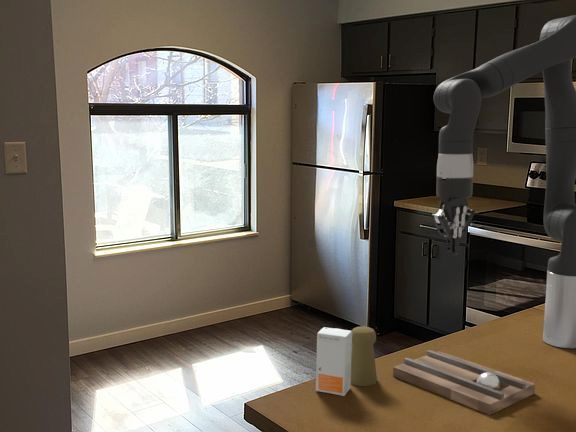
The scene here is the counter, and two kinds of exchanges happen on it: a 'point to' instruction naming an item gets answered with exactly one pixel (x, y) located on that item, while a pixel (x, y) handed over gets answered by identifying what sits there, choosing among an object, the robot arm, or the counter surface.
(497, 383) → the steel ball
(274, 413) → the counter surface
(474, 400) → the walnut channel
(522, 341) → the counter surface
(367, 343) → the olive knob stopper
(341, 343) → the skincare box
